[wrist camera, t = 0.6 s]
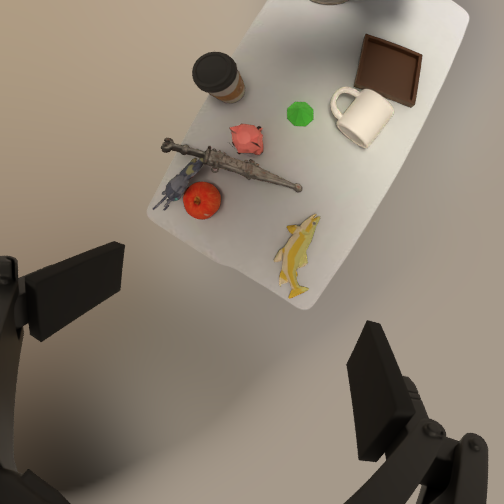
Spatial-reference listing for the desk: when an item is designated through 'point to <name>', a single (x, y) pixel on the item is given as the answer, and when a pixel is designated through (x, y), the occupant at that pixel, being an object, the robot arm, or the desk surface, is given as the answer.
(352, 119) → the mug
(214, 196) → the apple
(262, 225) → the desk surface
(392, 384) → the robot arm
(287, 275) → the toy
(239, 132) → the cat figurine
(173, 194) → the toy
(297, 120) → the green pyramid
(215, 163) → the decorative dagger
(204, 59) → the coffee cup
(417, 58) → the serving tray
